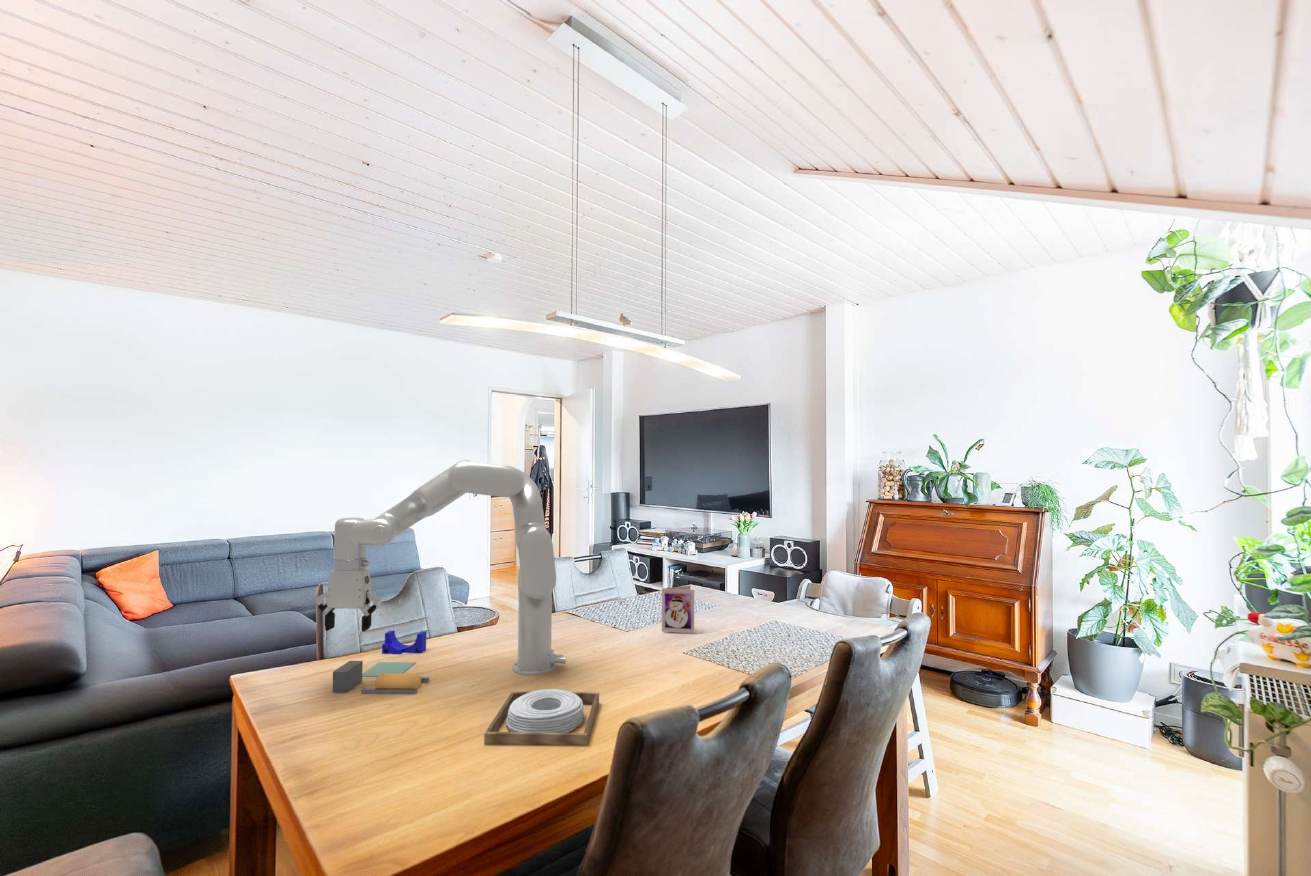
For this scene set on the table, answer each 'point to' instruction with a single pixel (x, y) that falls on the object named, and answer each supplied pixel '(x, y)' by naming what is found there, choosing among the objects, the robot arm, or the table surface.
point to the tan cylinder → (398, 681)
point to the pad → (388, 668)
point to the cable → (545, 712)
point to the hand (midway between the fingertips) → (347, 629)
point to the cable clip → (398, 648)
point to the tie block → (347, 676)
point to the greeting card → (678, 609)
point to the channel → (393, 689)
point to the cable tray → (540, 737)
